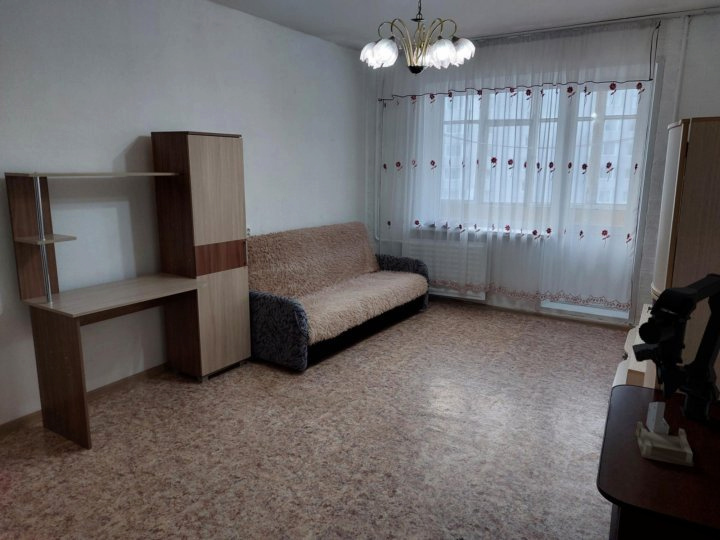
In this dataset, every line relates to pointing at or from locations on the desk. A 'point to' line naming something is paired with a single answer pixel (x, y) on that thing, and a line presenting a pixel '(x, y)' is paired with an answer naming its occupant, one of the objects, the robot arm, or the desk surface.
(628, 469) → the desk surface
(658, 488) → the desk surface
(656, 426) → the white wedge bracket
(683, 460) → the slotted track
